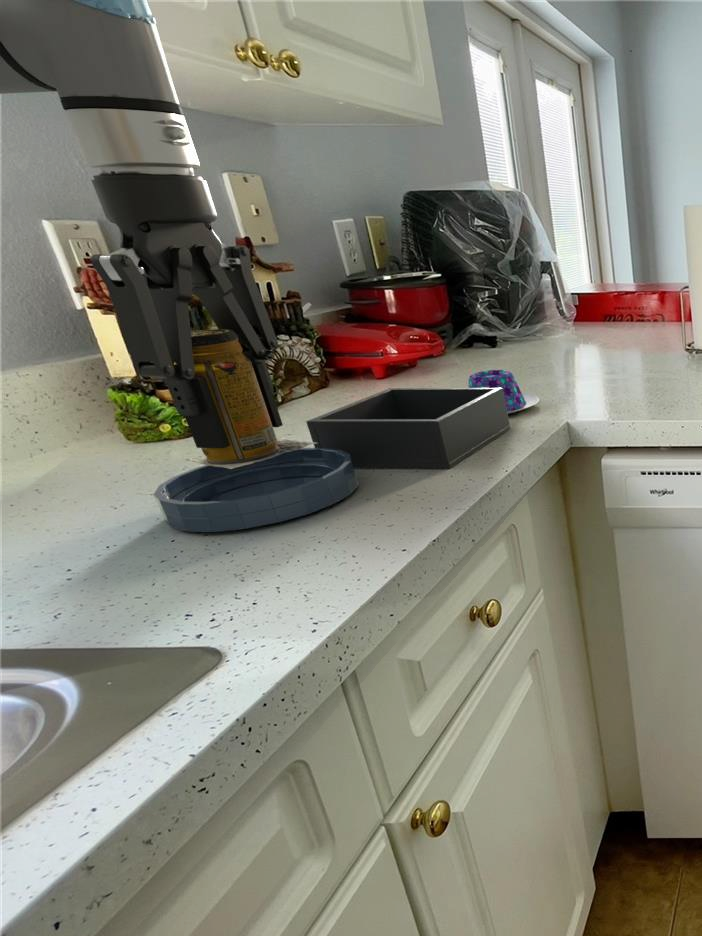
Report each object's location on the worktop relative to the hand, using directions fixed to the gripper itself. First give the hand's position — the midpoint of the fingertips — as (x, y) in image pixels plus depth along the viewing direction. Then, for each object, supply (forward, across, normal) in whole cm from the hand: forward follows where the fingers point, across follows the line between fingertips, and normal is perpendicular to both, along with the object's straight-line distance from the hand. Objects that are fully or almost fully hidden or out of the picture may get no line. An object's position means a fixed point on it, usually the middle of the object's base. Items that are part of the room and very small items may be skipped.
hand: (241, 435), depth 70 cm
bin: (+7, +18, -6) cm, 20 cm away
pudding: (+7, +36, -7) cm, 37 cm away
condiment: (+2, +1, 0) cm, 2 cm away
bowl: (+7, 0, 0) cm, 7 cm away
